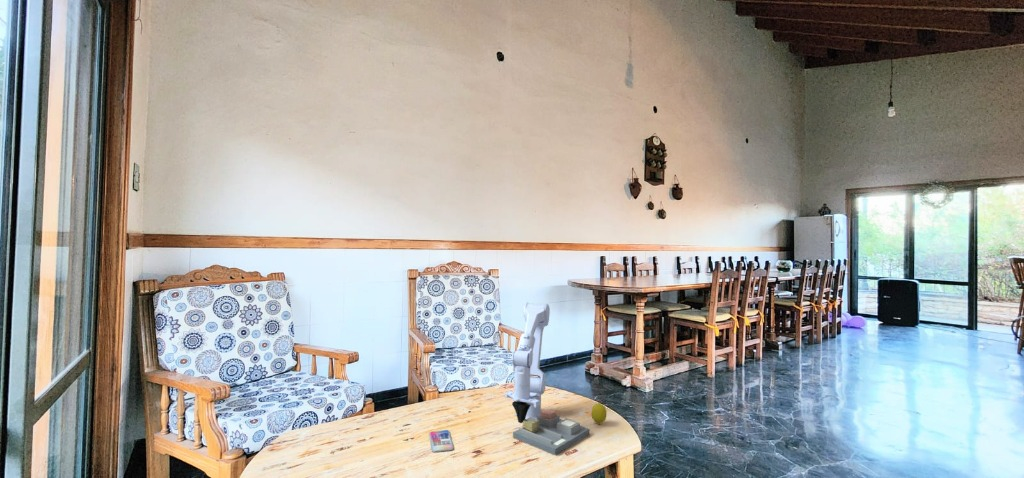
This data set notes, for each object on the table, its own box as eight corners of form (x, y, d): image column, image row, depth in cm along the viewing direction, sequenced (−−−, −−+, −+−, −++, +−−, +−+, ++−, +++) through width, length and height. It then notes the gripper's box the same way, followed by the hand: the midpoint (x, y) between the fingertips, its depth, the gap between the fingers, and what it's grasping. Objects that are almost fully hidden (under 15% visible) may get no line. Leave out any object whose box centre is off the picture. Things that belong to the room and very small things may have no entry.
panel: (513, 437, 152) (513, 425, 152) (548, 420, 168) (549, 408, 168) (555, 455, 140) (555, 441, 140) (589, 434, 156) (589, 422, 156)
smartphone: (431, 451, 140) (428, 431, 155) (431, 454, 140) (428, 434, 155) (454, 448, 142) (449, 429, 157) (454, 451, 142) (449, 431, 157)
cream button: (560, 428, 155) (560, 422, 155) (566, 425, 158) (567, 419, 158) (570, 431, 152) (570, 426, 152) (576, 428, 155) (576, 422, 155)
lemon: (606, 428, 162) (606, 406, 162) (591, 426, 163) (591, 405, 163) (606, 422, 167) (606, 401, 167) (591, 420, 168) (591, 399, 168)
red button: (540, 417, 161) (540, 411, 161) (547, 414, 164) (547, 408, 164) (549, 420, 158) (549, 414, 158) (555, 417, 161) (555, 411, 161)
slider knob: (523, 430, 153) (523, 420, 153) (530, 427, 156) (530, 417, 156) (531, 434, 150) (532, 423, 150) (539, 430, 153) (539, 420, 153)
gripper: (499, 381, 158) (499, 419, 158) (530, 391, 148) (530, 431, 148) (512, 377, 163) (512, 413, 163) (543, 386, 154) (542, 425, 154)
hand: (521, 421), depth 156 cm, fingers closed
